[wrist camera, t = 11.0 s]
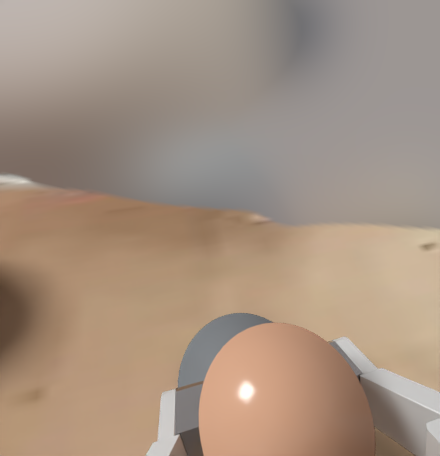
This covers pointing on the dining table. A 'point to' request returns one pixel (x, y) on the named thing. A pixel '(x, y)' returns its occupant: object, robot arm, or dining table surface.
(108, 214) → the dining table surface
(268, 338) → the peach shift knob
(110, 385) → the dining table surface
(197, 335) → the dish
